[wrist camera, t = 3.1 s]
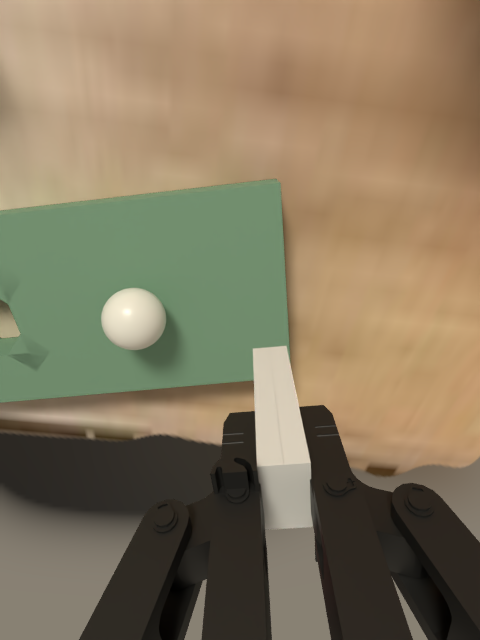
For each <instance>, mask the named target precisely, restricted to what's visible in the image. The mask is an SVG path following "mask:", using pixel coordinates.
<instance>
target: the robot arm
mask: <svg viewBox="0 0 480 640" xmlns="http://www.w3.org/2000/svg"><path fill="white" fill-rule="evenodd" d="M253 370H254V398H255V411H251V412H238V413H230V414H229V416H228V417H227V419H226V420H225V422H224V427H223V439H222V453H221V459H220V460H218V461H217V462H216V464H215V465H214V466H213V468H212V471H211V474H210V475H211V479H212V485H213V490H214V491H213V492H212V493H211V494H210V495H208V496H207V497H206V498H204V499H202V500H200V501H198V502H195V503H192V504H190V505H187V506H185V505H184V504H183V503H182V502H181V501H178V500H175V499H168V500H164V501H161V502H158V503H157V504H155V505H154V506H152V507H151V508H150V509H149V510H148V511H147V513H146V514H145V515H144V517H143V519H142V521H141V523H140V525H139V527H138V529H137V530H136V532H135V534H134V536H133V538H132V540H131V542H130V544H129V546H128V548H127V549H126V551H125V553H124V555H123V557H122V559H121V561H120V563H119V565H118V566H117V569H116V570H115V572H114V574H113V576H112V578H111V580H110V582H109V584H108V586H107V588H106V589H105V591H104V593H103V595H102V597H101V599H100V601H99V603H98V605H97V606H96V608H95V610H94V612H93V614H92V616H91V618H90V620H89V622H88V624H87V626H86V627H85V629H84V631H83V633H82V635H81V637H80V639H79V640H184V638H185V635H186V632H187V629H188V626H189V622H190V619H191V616H192V613H193V610H194V607H195V603H196V600H197V597H198V594H199V591H200V588H201V584H202V581H203V580H205V579H207V584H206V597H205V608H204V618H203V630H202V640H272V635H271V616H270V599H269V581H268V564H267V563H268V562H267V547H266V538H265V530H267V529H268V530H269V529H286V528H304V527H314V533H315V555H316V556H315V557H316V558H315V559H316V562H318V565H319V571H320V577H321V583H322V589H323V594H324V600H325V606H326V612H327V617H328V623H329V629H330V635H331V640H413V638H412V636H411V633H410V630H409V627H408V624H407V621H406V618H405V615H404V612H403V609H402V606H401V603H400V600H399V597H398V594H397V591H396V588H395V586H394V582H393V580H394V581H395V583H396V585H397V586H398V588H399V590H400V592H401V593H402V595H403V597H404V599H405V600H406V602H407V604H408V605H409V607H410V609H411V611H412V612H413V614H414V616H415V618H416V619H417V621H418V623H419V625H420V626H421V628H422V630H423V632H424V633H425V635H426V637H427V638H428V640H480V542H479V541H478V540H477V539H476V538H475V536H474V535H473V534H472V533H471V532H470V531H469V530H468V528H467V527H466V526H465V525H464V524H463V523H462V521H461V520H460V519H459V518H458V517H457V516H456V514H455V513H454V512H453V511H452V510H451V509H450V508H449V506H448V505H447V504H446V503H445V502H444V501H443V499H442V498H441V497H440V496H439V495H438V494H436V493H435V492H434V491H433V490H431V489H429V488H427V487H425V486H423V485H418V484H414V483H408V484H402V485H400V486H399V487H397V488H396V489H395V490H394V492H388V491H384V490H379V489H375V488H372V487H369V486H367V485H365V484H364V483H362V482H361V481H360V480H358V479H357V478H356V477H355V476H354V474H353V473H352V471H351V469H350V467H349V463H348V460H347V457H346V454H345V451H344V448H343V445H342V442H341V439H340V436H339V433H338V430H337V427H336V424H335V421H334V418H333V415H332V413H331V412H330V411H329V410H328V409H327V408H326V407H325V406H324V405H319V406H305V407H299V404H298V399H297V394H296V390H295V385H294V380H293V375H292V370H291V366H290V361H289V356H288V351H287V346H278V347H266V348H255V349H253ZM391 576H392V577H391ZM392 578H393V579H392Z"/></svg>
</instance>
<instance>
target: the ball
mask: <svg viewBox="0 0 480 640" xmlns="http://www.w3.org/2000/svg"><path fill="white" fill-rule="evenodd" d="M101 324H102V328H103V330H104V333H105V335H106V336H107V337H108V339H109V340H110V341H111V342H112V343H114V344H115V345H117V346H118V347H121V348H123V349H127V350H140V349H144V348H147V347H149V346H151V345H152V344H154V343H155V342H156V341H157V340H158V339H159V338H160V337H161V335H162V333H163V331H164V329H165V325H166V313H165V309H164V307H163V305H162V303H161V301H160V300H159V299H158V298H157V297H156V296H155V295H154V294H152V293H151V292H149V291H147V290H144V289H140V288H127V289H123V290H121V291H118V292H117V293H115V294H114V295H112V296H111V297H110V298H109V299H108V301H107V302H106V304H105V305H104V307H103V310H102V314H101Z"/></svg>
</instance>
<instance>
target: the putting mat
mask: <svg viewBox="0 0 480 640" xmlns="http://www.w3.org/2000/svg"><path fill="white" fill-rule="evenodd" d="M127 288H140V289H144V290H147V291H149V292H151V293H152V294H154V295H155V296H156V297H157V298H158V299H159V300H160V301H161V303H162V305H163V307H164V309H165V313H166V325H165V329H164V331H163V333H162V335H161V337H160V338H159V339H158V340H157V341H156V342H155V343H154V344H152V345H151V346H149V347H147V348H144V349H140V350H127V349H123V348H121V347H118V346H117V345H115V344H114V343H112V342H111V341H110V340H109V339H108V337H107V336H106V335H105V333H104V330H103V328H102V324H101V314H102V310H103V307H104V305H105V304H106V302H107V301H108V299H109V298H110V297H111V296H112V295H114V294H115V293H117V292H118V291H121V290H123V289H127ZM0 300H2V301H4V302H5V303H7V304H8V305H9V307H10V310H11V312H12V314H13V317H14V319H15V321H16V324H17V326H18V328H19V331H20V333H21V334H20V336H19V337H12V338H0V403H2V402H13V401H24V400H36V399H47V398H59V397H70V396H81V395H93V394H104V393H116V392H127V391H138V390H150V389H161V388H172V387H184V386H195V385H207V384H218V383H229V382H241V381H252V380H254V370H253V349H255V348H266V347H278V346H287V351H288V356H289V361H290V348H289V330H288V312H287V294H286V276H285V258H284V240H283V222H282V204H281V186H280V182H279V181H278V180H277V179H270V180H262V181H253V182H244V183H236V184H227V185H218V186H210V187H201V188H192V189H184V190H175V191H166V192H158V193H149V194H140V195H132V196H123V197H114V198H106V199H97V200H88V201H80V202H71V203H62V204H54V205H45V206H36V207H28V208H19V209H11V210H2V211H0Z"/></svg>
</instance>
